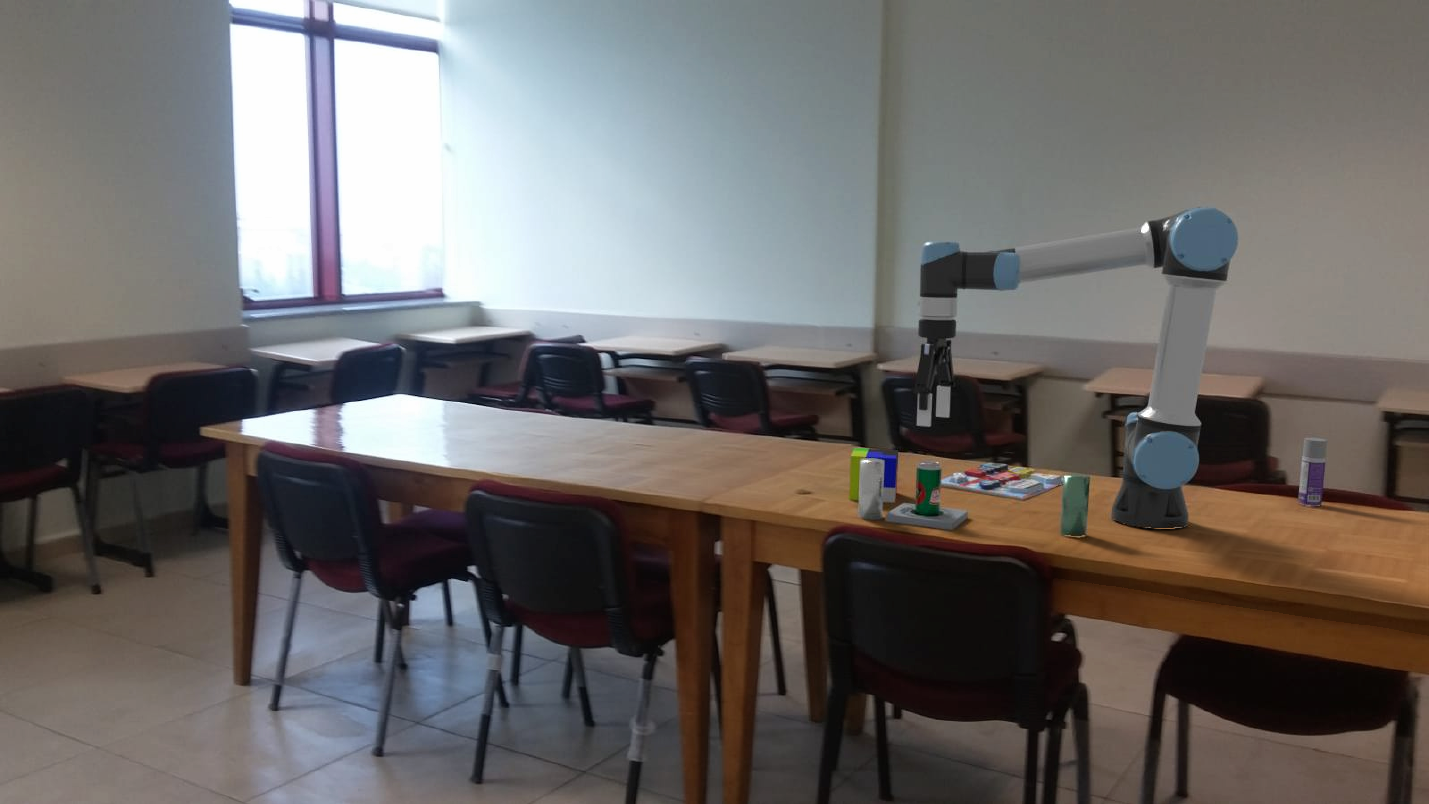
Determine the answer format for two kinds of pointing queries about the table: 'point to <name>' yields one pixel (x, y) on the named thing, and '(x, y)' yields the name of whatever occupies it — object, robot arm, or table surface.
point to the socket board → (944, 521)
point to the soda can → (928, 489)
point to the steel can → (871, 489)
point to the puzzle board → (1002, 481)
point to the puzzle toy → (889, 471)
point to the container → (1312, 471)
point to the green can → (1074, 504)
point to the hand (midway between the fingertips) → (933, 421)
